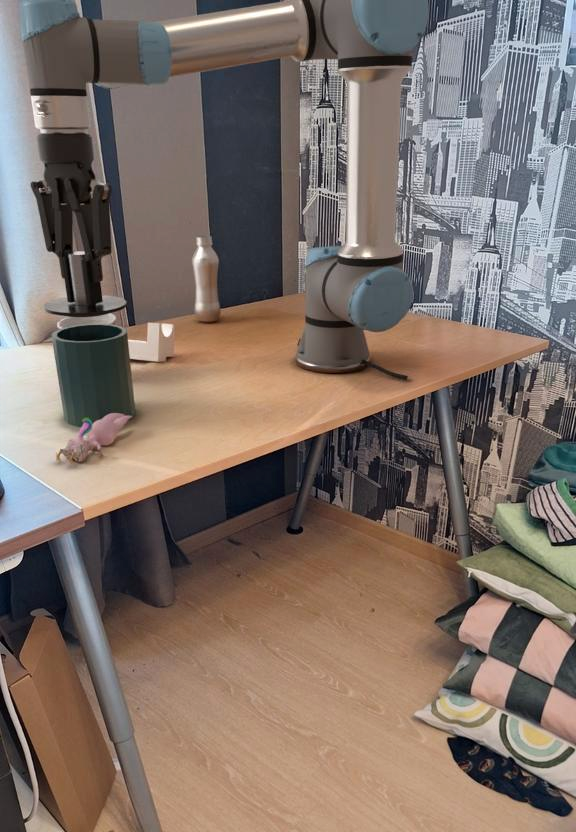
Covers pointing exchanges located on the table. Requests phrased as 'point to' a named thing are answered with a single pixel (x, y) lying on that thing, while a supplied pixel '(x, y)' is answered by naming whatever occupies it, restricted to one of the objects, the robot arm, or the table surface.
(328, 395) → the table surface
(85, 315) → the lid
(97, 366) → the cup
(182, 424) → the table surface
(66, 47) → the robot arm
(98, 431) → the pink toy creature
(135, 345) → the bracket
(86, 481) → the table surface
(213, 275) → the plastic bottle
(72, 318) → the plastic cup
